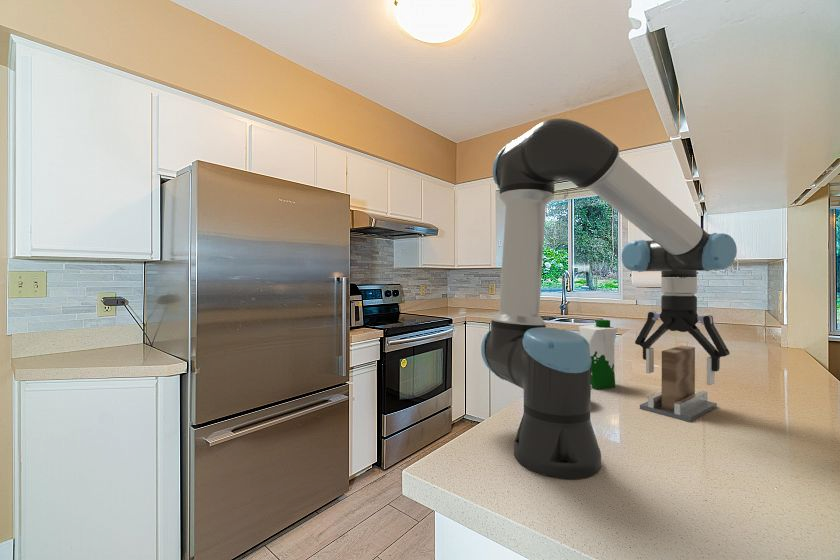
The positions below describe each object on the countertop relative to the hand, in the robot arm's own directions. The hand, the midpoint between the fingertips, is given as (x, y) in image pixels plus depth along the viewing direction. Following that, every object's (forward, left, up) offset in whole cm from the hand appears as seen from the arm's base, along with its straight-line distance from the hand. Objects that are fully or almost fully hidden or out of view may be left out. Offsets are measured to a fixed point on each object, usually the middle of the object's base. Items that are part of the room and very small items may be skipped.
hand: (678, 378), depth 97 cm
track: (0, 0, -8) cm, 8 cm away
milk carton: (+2, +23, -8) cm, 24 cm away
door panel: (0, 0, -7) cm, 7 cm away
